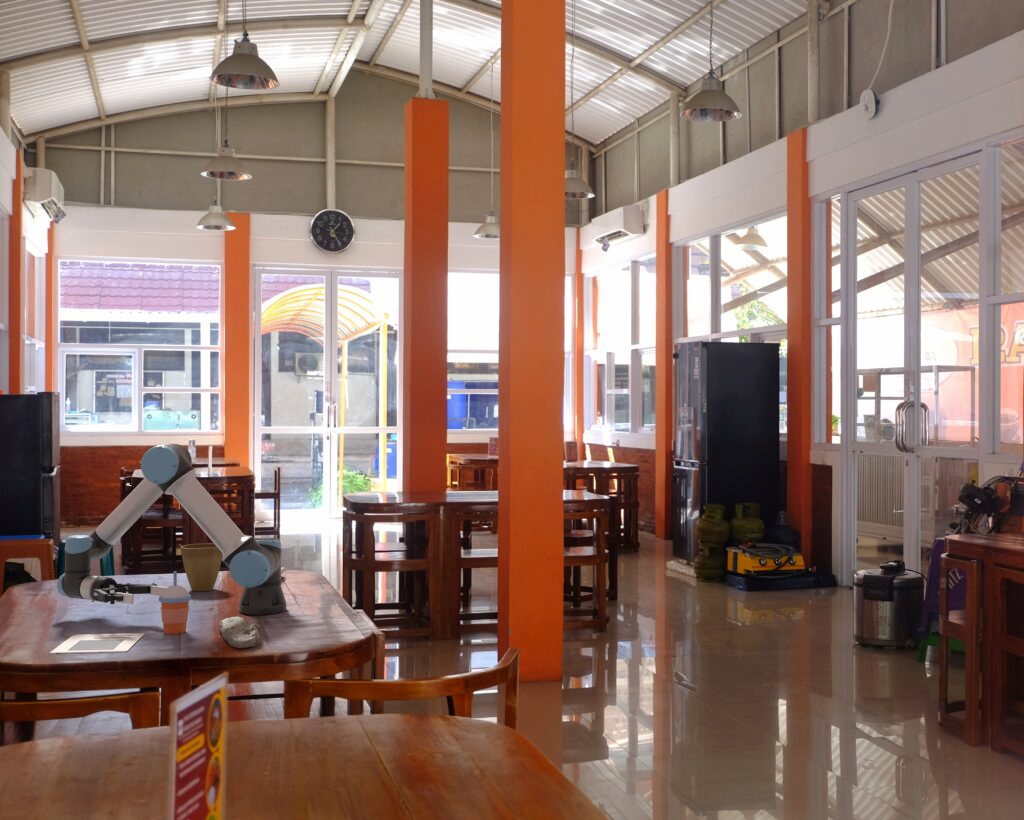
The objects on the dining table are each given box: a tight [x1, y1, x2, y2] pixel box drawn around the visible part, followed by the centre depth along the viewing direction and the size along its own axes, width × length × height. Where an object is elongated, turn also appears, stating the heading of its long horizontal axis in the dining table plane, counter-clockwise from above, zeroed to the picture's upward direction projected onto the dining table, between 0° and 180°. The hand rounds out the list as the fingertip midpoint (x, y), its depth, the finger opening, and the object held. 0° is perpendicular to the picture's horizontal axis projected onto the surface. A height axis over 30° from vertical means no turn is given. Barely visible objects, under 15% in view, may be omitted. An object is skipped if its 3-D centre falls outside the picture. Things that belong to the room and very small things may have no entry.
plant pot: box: [180, 543, 223, 592], centre depth 377 cm, size 15×15×16 cm
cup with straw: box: [158, 570, 192, 635], centre depth 308 cm, size 9×9×18 cm
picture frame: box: [49, 632, 146, 655], centre depth 292 cm, size 20×22×1 cm
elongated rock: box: [218, 616, 261, 649], centre depth 302 cm, size 35×5×10 cm
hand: (150, 595), depth 312 cm, fingers open, 13 cm apart
